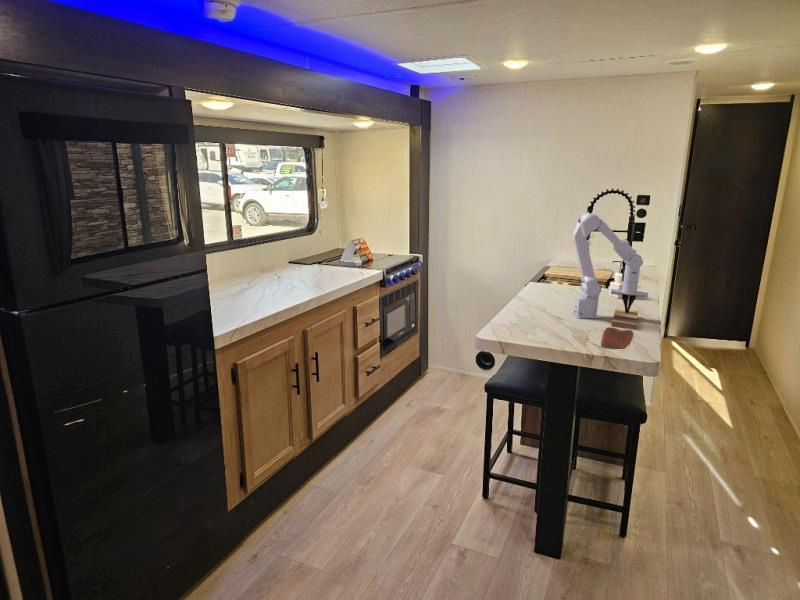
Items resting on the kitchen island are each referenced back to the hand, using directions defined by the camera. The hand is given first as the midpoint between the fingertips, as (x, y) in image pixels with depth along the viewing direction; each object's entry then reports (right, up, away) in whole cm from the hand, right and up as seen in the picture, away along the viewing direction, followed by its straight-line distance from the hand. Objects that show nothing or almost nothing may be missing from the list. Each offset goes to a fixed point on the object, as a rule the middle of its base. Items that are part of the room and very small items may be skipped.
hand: (626, 312), depth 225 cm
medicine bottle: (+12, +7, +38) cm, 40 cm away
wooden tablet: (-16, -10, -28) cm, 34 cm away
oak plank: (-1, -2, -1) cm, 2 cm away
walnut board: (-6, -5, -11) cm, 13 cm away
